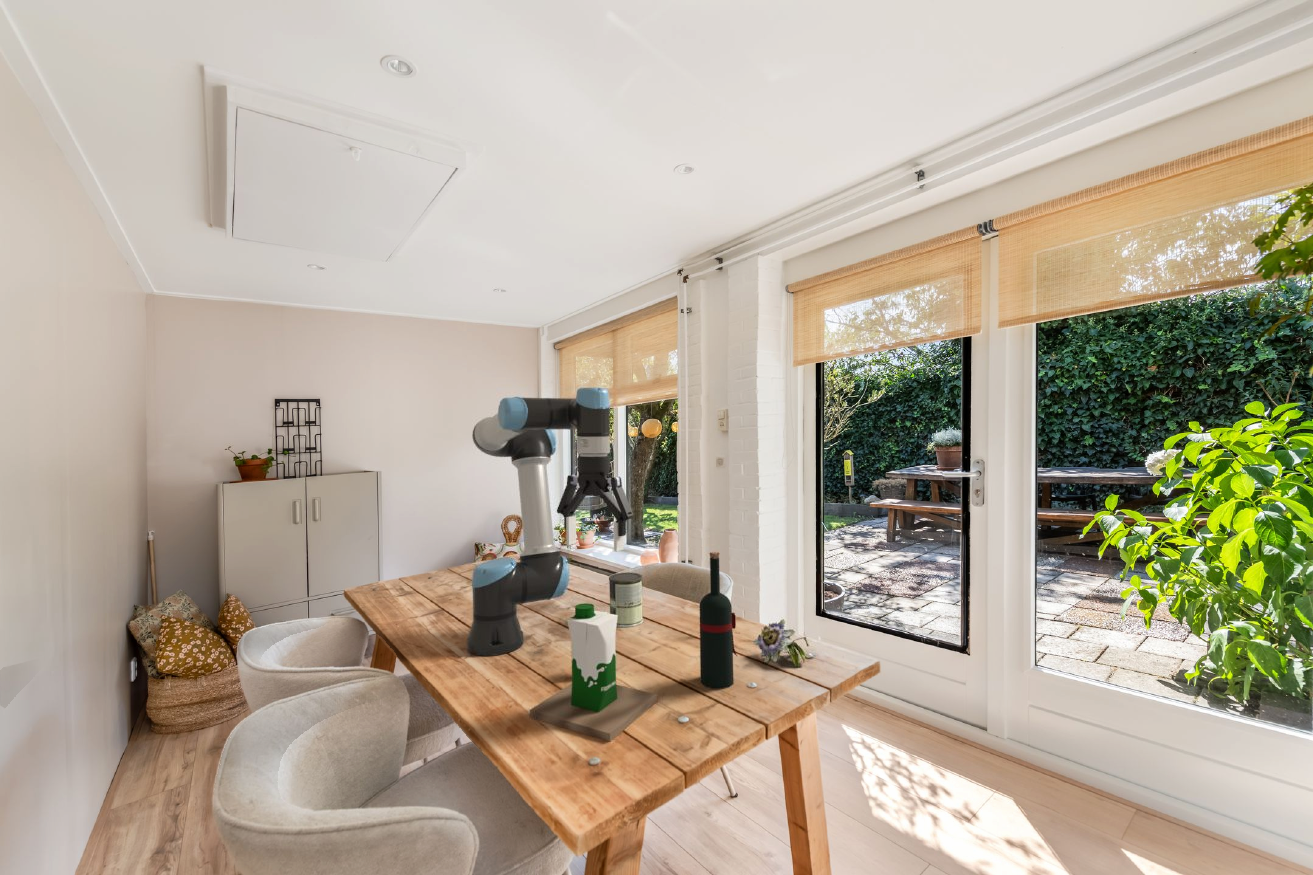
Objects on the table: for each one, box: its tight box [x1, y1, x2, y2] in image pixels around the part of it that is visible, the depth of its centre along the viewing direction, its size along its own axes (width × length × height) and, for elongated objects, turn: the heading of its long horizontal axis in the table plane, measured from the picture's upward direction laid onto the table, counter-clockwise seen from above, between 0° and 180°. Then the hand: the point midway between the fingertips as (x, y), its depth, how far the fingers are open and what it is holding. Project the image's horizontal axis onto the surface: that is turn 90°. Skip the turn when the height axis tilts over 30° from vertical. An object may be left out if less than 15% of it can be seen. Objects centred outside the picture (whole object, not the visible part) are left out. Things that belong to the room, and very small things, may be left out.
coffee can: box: [608, 572, 644, 628], centre depth 174 cm, size 10×10×14 cm
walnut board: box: [529, 682, 658, 742], centre depth 119 cm, size 20×18×2 cm
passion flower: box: [752, 618, 810, 668], centre depth 143 cm, size 11×11×12 cm
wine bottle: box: [699, 551, 738, 690], centre depth 132 cm, size 8×10×30 cm
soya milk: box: [566, 602, 618, 712], centre depth 119 cm, size 9×9×20 cm
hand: (594, 547), depth 130 cm, fingers open, 13 cm apart
